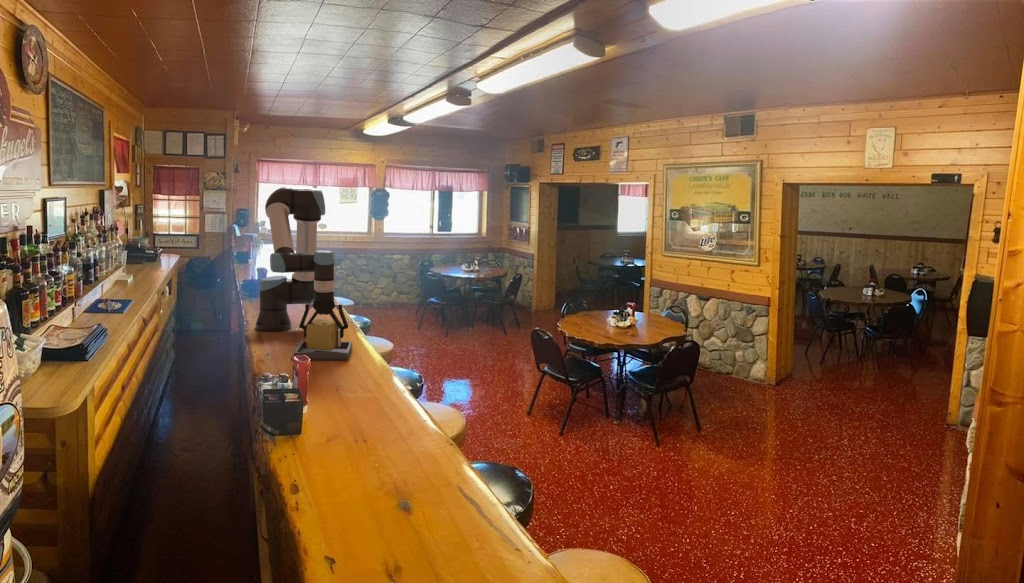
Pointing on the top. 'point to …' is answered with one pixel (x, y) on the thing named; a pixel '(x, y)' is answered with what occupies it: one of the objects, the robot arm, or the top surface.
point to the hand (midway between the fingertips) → (324, 345)
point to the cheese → (322, 335)
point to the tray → (325, 352)
